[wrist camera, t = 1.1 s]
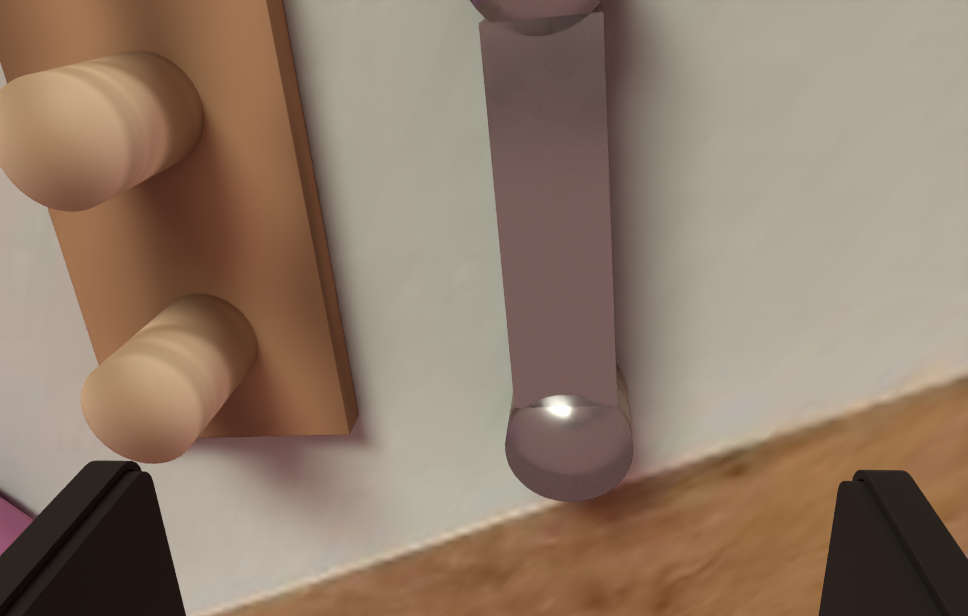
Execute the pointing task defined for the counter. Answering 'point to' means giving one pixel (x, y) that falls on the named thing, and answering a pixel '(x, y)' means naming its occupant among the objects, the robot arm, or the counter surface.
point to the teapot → (11, 524)
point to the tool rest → (180, 215)
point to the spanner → (556, 244)
